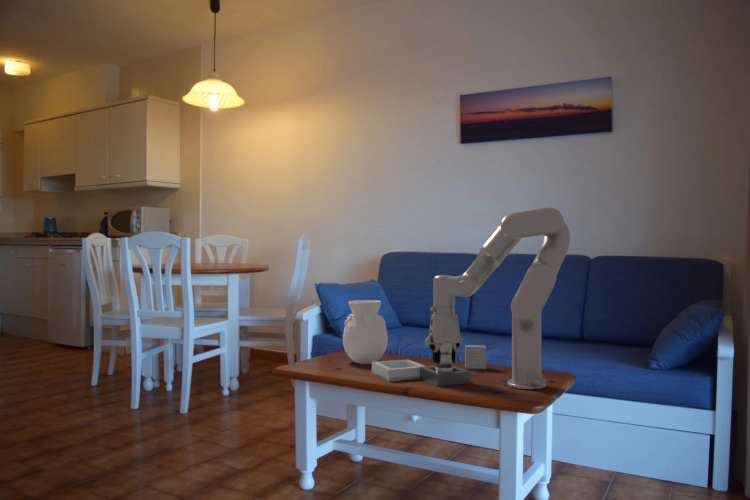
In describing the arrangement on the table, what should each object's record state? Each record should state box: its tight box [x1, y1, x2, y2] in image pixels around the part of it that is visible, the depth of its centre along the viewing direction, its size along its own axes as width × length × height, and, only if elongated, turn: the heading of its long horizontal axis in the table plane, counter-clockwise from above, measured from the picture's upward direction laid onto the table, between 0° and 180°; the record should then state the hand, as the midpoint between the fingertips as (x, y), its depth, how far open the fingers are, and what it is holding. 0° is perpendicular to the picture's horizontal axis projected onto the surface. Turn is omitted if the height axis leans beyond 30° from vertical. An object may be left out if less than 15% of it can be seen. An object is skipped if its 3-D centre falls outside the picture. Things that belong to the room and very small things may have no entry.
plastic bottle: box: [435, 336, 454, 372], centre depth 202 cm, size 6×7×20 cm
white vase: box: [342, 299, 389, 365], centre depth 237 cm, size 19×18×25 cm
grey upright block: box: [464, 344, 487, 370], centre depth 224 cm, size 8×4×9 cm, turn 84°
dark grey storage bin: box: [419, 364, 472, 387], centre depth 202 cm, size 14×13×4 cm
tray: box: [371, 359, 425, 382], centre depth 211 cm, size 16×15×4 cm
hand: (444, 361), depth 202 cm, fingers closed on plastic bottle, 5 cm apart
